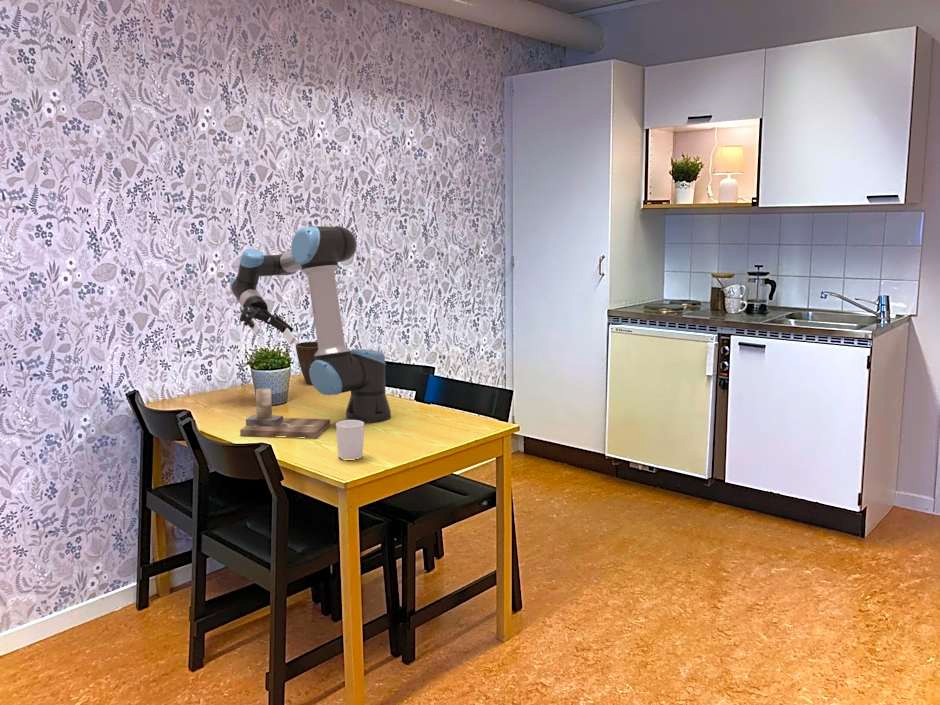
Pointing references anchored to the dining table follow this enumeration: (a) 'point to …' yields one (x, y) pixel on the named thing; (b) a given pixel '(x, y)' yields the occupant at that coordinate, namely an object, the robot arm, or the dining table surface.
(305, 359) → the plant pot
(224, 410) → the dining table surface
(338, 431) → the white cup
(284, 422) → the walnut board
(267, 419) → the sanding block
